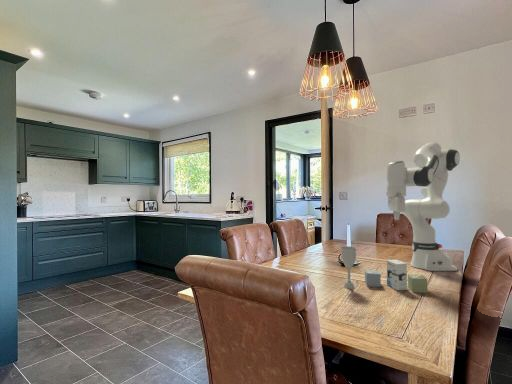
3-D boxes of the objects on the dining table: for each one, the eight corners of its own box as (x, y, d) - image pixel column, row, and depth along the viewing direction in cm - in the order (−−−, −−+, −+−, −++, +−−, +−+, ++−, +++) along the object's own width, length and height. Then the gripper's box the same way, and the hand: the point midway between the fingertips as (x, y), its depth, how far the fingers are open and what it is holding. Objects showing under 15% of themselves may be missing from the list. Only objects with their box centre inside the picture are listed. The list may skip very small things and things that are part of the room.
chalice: (357, 285, 134) (357, 246, 134) (357, 290, 128) (357, 249, 128) (341, 283, 137) (340, 246, 137) (340, 288, 130) (340, 248, 130)
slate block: (378, 283, 138) (378, 270, 138) (380, 287, 132) (380, 273, 132) (364, 282, 139) (364, 269, 139) (366, 286, 133) (366, 273, 133)
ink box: (386, 284, 135) (386, 259, 135) (396, 284, 136) (396, 259, 136) (396, 290, 127) (396, 264, 127) (407, 290, 127) (407, 263, 127)
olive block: (422, 288, 129) (422, 274, 129) (427, 293, 124) (427, 278, 124) (408, 287, 131) (407, 274, 131) (411, 292, 125) (411, 277, 125)
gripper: (408, 192, 136) (409, 222, 136) (398, 192, 156) (398, 218, 156) (394, 192, 137) (394, 221, 137) (385, 192, 157) (386, 218, 157)
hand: (396, 219), depth 147 cm, fingers closed
